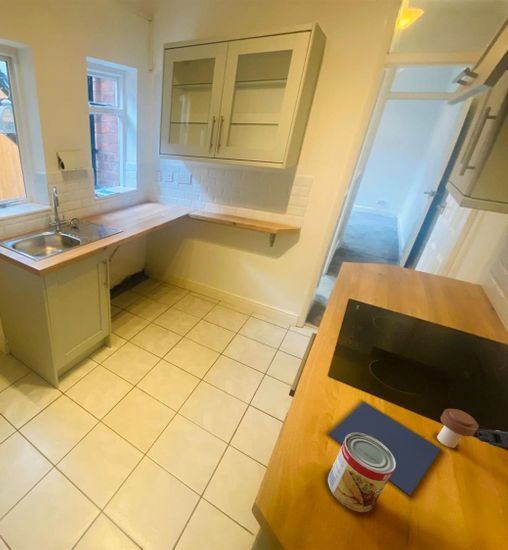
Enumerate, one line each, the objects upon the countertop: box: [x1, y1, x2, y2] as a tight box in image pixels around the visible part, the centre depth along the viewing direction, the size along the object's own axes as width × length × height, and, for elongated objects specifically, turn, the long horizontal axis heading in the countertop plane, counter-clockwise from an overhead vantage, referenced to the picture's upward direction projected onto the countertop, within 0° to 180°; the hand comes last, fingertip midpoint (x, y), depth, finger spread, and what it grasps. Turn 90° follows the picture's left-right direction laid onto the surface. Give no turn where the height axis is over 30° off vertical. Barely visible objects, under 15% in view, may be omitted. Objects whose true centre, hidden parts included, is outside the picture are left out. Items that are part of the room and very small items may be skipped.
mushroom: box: [436, 408, 479, 449], centre depth 69 cm, size 6×6×8 cm
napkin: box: [328, 401, 442, 496], centre depth 71 cm, size 18×16×1 cm
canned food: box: [327, 433, 396, 513], centre depth 58 cm, size 8×8×12 cm
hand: (502, 437), depth 60 cm, fingers open, 8 cm apart
